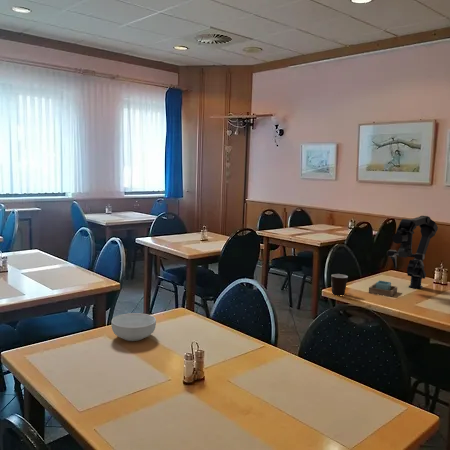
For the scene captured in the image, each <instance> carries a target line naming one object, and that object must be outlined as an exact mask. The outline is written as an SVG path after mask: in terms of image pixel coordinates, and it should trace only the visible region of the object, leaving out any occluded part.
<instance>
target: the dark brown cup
mask: <svg viewBox="0 0 450 450" xmlns="http://www.w3.org/2000/svg"><path fill="white" fill-rule="evenodd" d="M348 277H349V276H348V275H346V274H340V273H333V274H331V276H330V280H331V283H330V284H331V294H332V293H333V294H334V295H333V294H332V295H333V296H335V295H337V296H336V297H341V296H340V295H344V294H345V293H346V290H347V289H346V288H347V285H348ZM338 295H339V296H338ZM345 295H346V294H345ZM345 295H344V296H345Z"/></svg>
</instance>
